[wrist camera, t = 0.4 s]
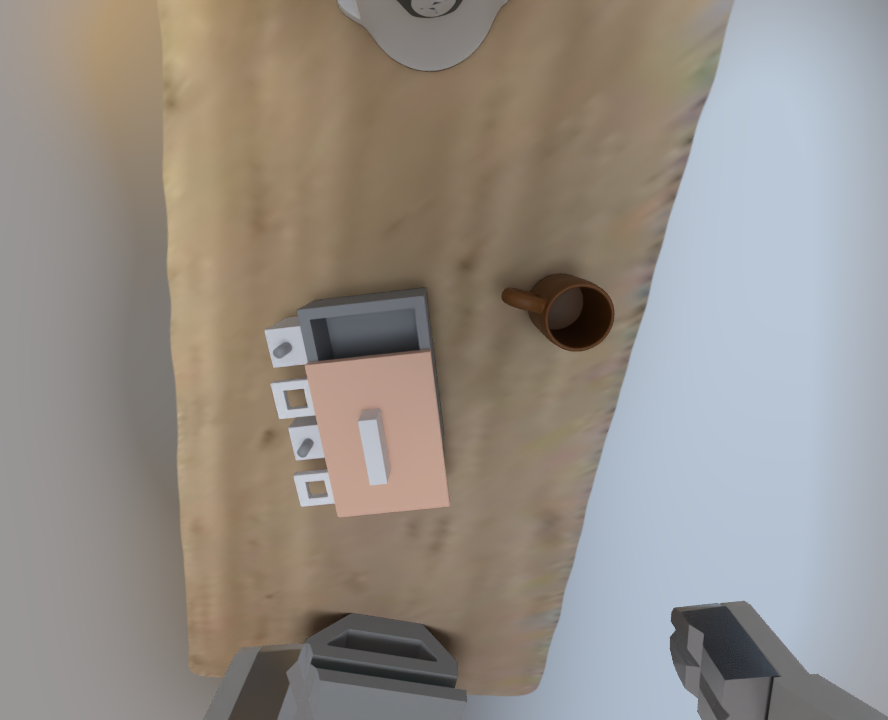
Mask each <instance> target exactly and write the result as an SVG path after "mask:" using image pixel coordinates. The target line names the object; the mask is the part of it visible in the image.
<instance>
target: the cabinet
mask: <svg viewBox="0 0 888 720" xmlns="http://www.w3.org/2000/svg"><path fill="white" fill-rule="evenodd" d="M297 315H298V316H297V317H288V318H285V319H283V320H282V321H280V322H278V323H276V324H274V325H273V326H271V327H269V328H267V329H266V330H264V331H265V335H266V339H267V343H268V347H269V351H270V355H271V359H272V363H273V368H275V367H285V366H294V365H303V364H307V363H308V362H315V361H324V360H333V359H342V358H351V357H361V356H370V355H379V354H388V353H397V352H406V351H416V350H425V349H431V356H432V364H433V372H434V380H435V388H436V396H437V404H438V412H439V420H440V428H441V436H442V444H443V452H444V429H443V421H442V413H441V404H440V396H439V388H438V380H437V372H436V364H435V356H434V347H433V339H432V331H431V323H430V315H429V307H428V299H427V291H426V288H417V289H408V290H399V291H390V292H382V293H373V294H364V295H355V296H346V297H337V298H328V299H320V300H314V301H312V302H310V303H309V304H307V305H305V306H303V307H301V308H299V309H298V310H297ZM306 406H307V405H306ZM288 429H289V433H290V437H291V442H292V446H293V450H294V454H295V458H296V461H297V460H306V459H316V458H325V456H324V452H323V447H322V443H321V438H320V433H319V429H318V424H317V420H316V415H313V416H303V417H296V419H295V420H294V421H293V423H292V424H291V425H290V426H289V428H288Z"/></svg>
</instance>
